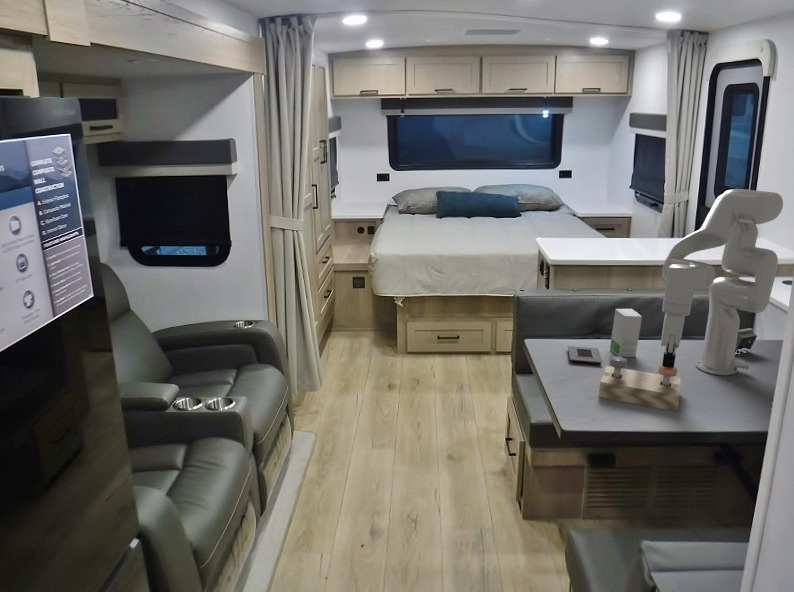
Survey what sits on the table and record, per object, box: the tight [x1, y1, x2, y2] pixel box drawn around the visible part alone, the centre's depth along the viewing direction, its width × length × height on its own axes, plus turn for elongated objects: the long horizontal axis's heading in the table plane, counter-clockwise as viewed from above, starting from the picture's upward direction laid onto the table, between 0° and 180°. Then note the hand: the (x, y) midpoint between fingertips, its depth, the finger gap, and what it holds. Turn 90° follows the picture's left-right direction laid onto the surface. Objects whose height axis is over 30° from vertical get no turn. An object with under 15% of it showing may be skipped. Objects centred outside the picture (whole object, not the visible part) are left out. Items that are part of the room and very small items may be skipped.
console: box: [598, 365, 682, 412], centre depth 195 cm, size 22×14×5 cm, turn 66°
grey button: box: [609, 356, 628, 378], centre depth 197 cm, size 5×5×6 cm
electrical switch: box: [735, 327, 758, 352], centre depth 230 cm, size 9×5×9 cm, turn 113°
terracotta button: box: [657, 364, 678, 386], centre depth 191 cm, size 5×5×6 cm
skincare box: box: [609, 308, 643, 358], centre depth 228 cm, size 8×7×16 cm
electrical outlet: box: [567, 345, 603, 365], centre depth 225 cm, size 13×10×2 cm
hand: (667, 366), depth 190 cm, fingers closed
